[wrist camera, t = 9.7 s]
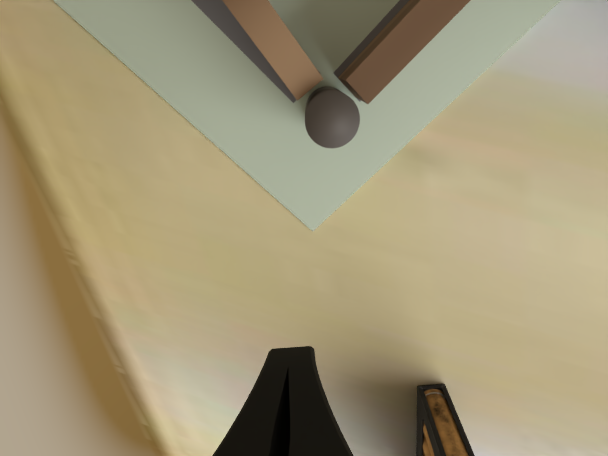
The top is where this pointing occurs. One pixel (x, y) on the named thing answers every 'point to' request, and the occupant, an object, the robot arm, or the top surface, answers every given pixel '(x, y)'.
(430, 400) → the ammunition clip
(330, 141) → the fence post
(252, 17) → the fence gate
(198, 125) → the card
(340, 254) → the top surface
